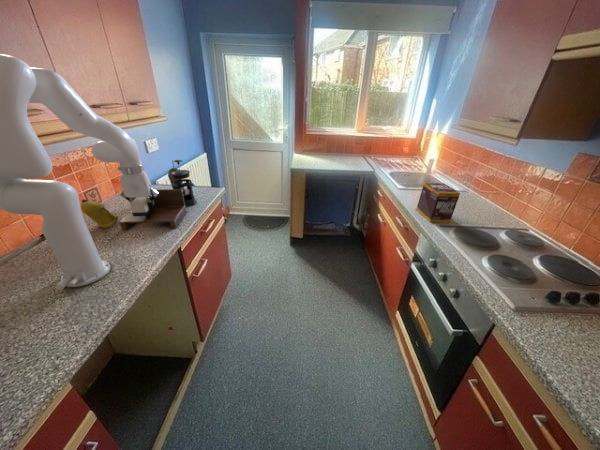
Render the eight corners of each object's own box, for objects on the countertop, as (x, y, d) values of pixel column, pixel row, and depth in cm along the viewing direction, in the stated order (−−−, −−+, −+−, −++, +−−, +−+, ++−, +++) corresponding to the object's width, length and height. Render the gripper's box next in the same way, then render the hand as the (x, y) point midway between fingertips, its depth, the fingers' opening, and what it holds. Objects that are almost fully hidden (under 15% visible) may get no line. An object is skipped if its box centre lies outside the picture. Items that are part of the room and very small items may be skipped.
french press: (184, 198, 139) (175, 157, 128) (199, 200, 137) (192, 158, 126) (171, 207, 128) (160, 162, 117) (187, 208, 127) (178, 164, 116)
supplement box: (429, 222, 122) (439, 192, 114) (416, 209, 135) (423, 181, 128) (450, 222, 122) (461, 193, 115) (434, 209, 136) (443, 182, 128)
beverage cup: (183, 191, 148) (177, 157, 138) (187, 195, 143) (181, 160, 133) (170, 194, 144) (162, 159, 134) (174, 198, 139) (166, 162, 129)
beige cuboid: (146, 216, 106) (143, 203, 104) (133, 216, 106) (129, 203, 103) (157, 204, 117) (154, 192, 114) (144, 204, 116) (141, 192, 113)
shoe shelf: (176, 228, 109) (170, 203, 104) (122, 230, 106) (112, 204, 101) (186, 211, 124) (181, 189, 118) (139, 213, 121) (132, 189, 116)
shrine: (105, 234, 103) (92, 200, 96) (86, 232, 104) (71, 199, 96) (124, 221, 113) (113, 190, 106) (107, 220, 114) (95, 189, 106)
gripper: (104, 172, 97) (119, 214, 106) (151, 172, 99) (162, 213, 108) (114, 167, 104) (127, 206, 112) (158, 167, 106) (167, 205, 114)
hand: (144, 209), depth 110 cm, fingers closed on beige cuboid, 5 cm apart
